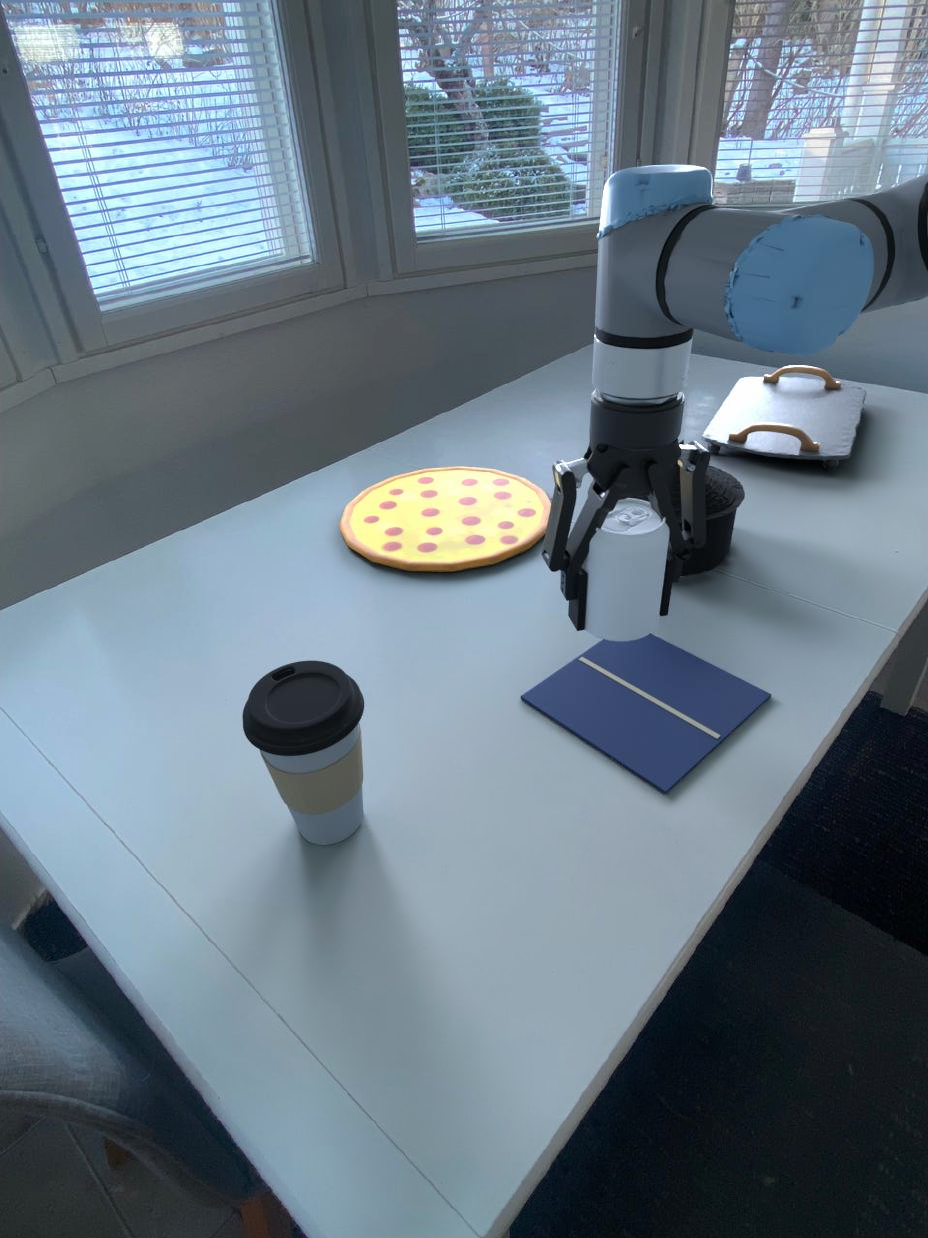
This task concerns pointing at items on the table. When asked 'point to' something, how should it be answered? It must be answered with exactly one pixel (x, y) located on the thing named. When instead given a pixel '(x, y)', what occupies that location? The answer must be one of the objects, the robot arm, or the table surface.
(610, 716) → the napkin
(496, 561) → the pizza
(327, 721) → the coffee cup
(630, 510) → the beverage can
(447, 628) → the table surface
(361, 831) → the table surface
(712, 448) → the serving tray
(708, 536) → the black round tub
